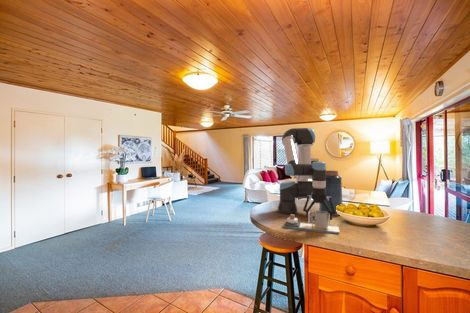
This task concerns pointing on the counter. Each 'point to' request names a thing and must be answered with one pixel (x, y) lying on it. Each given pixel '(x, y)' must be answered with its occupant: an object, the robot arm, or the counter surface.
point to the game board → (311, 227)
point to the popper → (292, 219)
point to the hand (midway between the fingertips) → (318, 224)
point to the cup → (320, 219)
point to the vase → (332, 191)
